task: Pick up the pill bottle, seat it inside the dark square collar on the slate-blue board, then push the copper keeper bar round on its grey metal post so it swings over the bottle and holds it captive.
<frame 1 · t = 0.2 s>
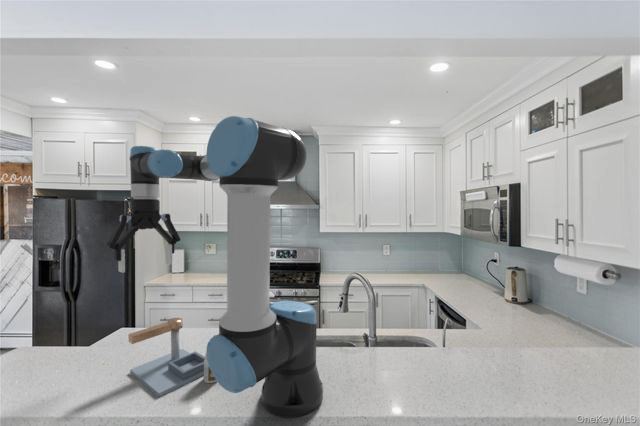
hand: (146, 267, 93), 28 cm above the countertop, fingers open, 13 cm apart
board: (172, 371, 85), on the countertop
pill bottle: (212, 379, 82), on the countertop
keeper: (157, 329, 86), point 12 cm above the countertop, hinge at 0.0°
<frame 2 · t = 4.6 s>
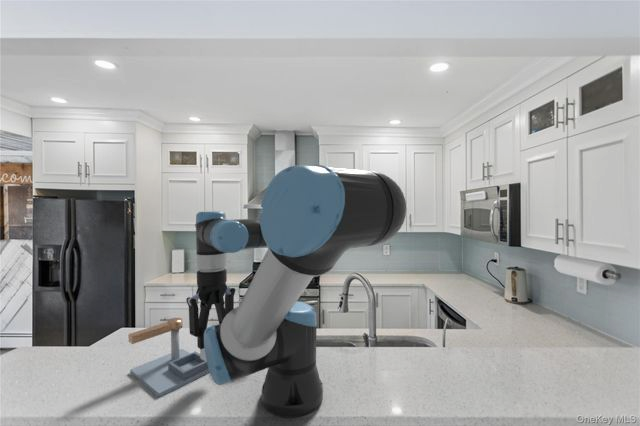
hand: (213, 355, 81), 7 cm above the countertop, fingers closed on pill bottle, 4 cm apart
pill bottle: (213, 357, 81), point 6 cm above the countertop, touching gripper
everything else where it was.
when the fingers open (4 cm above the countertop, at t = 8.0 s): pill bottle drops 2 cm, resting on board.
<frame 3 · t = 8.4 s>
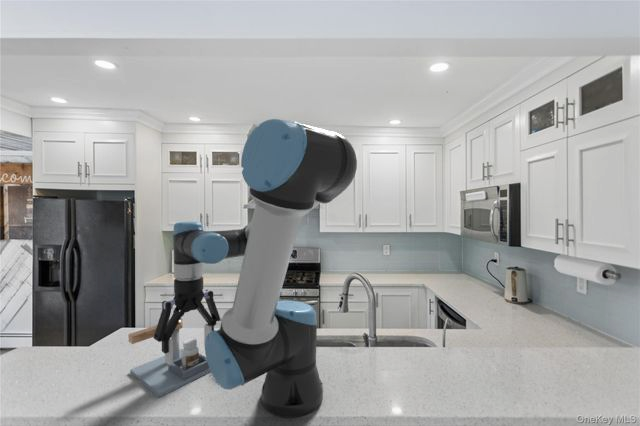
hand: (189, 354, 85), 5 cm above the countertop, fingers open, 11 cm apart
pill bottle: (190, 368, 85), point 1 cm above the countertop, touching board
everything else where it was.
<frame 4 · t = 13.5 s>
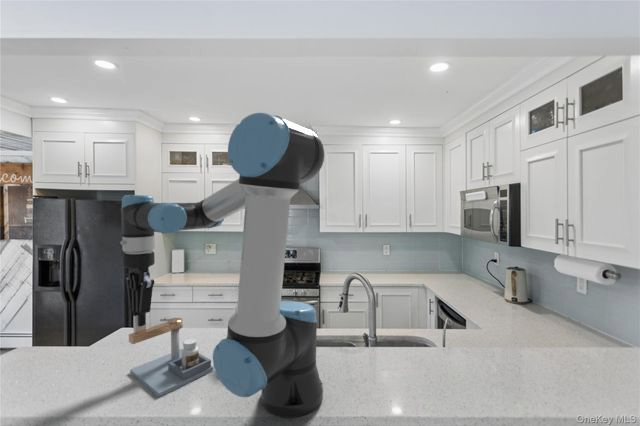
hand: (139, 336, 84), 11 cm above the countertop, fingers closed
keeper: (157, 329, 86), point 12 cm above the countertop, hinge at 1.2°, touching gripper
everything else where it was.
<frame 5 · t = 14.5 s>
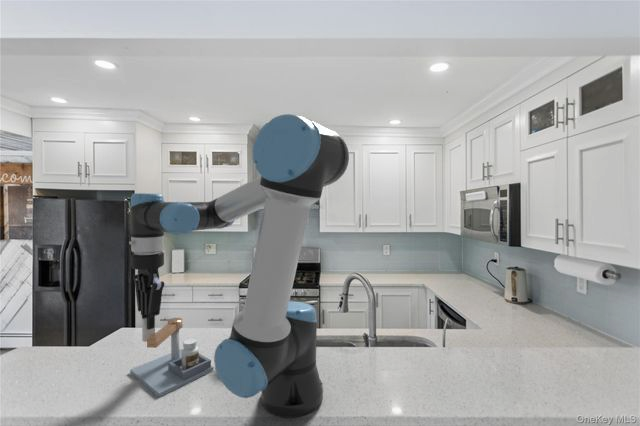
hand: (148, 339, 81), 11 cm above the countertop, fingers closed
keeper: (166, 331, 85), point 12 cm above the countertop, hinge at 36.0°, touching gripper
everything else where it was.
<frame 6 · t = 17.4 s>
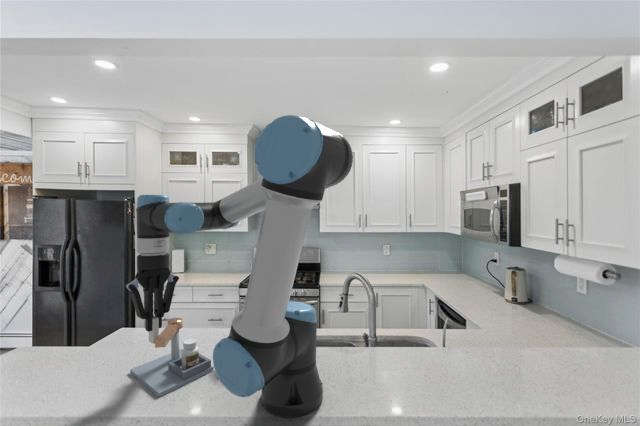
hand: (153, 341, 80), 11 cm above the countertop, fingers closed
keeper: (169, 331, 85), point 12 cm above the countertop, hinge at 46.2°, touching gripper
everything else where it was.
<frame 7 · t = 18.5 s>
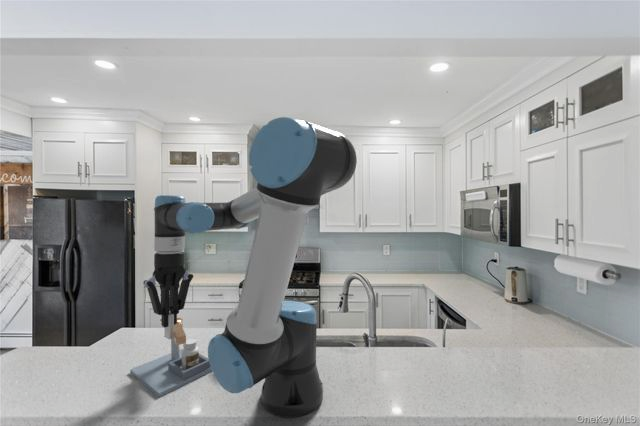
hand: (169, 337, 83), 11 cm above the countertop, fingers closed
keeper: (177, 330, 85), point 12 cm above the countertop, hinge at 69.8°, touching gripper
everything else where it was.
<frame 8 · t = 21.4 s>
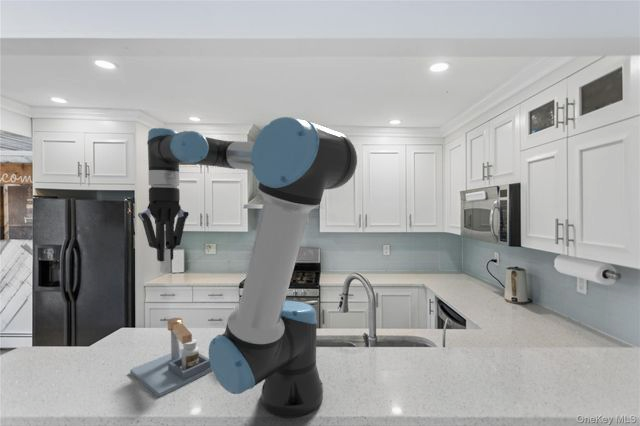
hand: (165, 272, 84), 28 cm above the countertop, fingers closed
keeper: (179, 329, 86), point 12 cm above the countertop, hinge at 76.9°
everything else where it was.
at the end: pill bottle inside the target area (0.2 cm from its centre), point 0.8 cm above the countertop; pill bottle tilted 0°; keeper at +77° (first picture: +0°) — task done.
